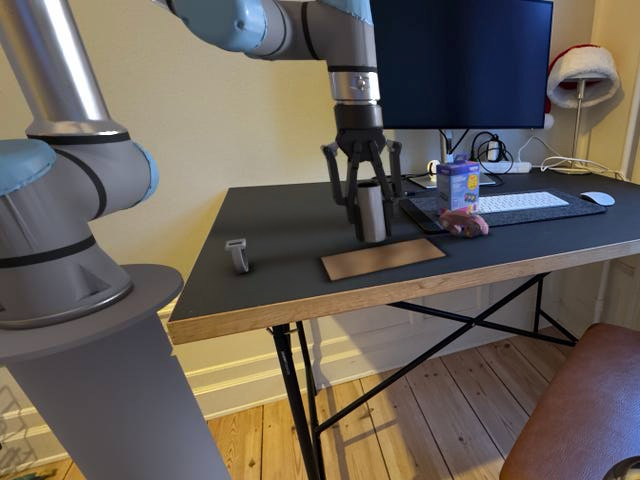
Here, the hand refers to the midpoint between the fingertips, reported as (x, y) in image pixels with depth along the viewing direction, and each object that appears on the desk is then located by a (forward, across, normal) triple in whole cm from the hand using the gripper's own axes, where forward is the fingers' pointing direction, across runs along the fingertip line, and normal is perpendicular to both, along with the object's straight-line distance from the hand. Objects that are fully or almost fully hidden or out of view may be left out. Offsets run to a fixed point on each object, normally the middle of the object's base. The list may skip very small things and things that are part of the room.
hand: (374, 236), depth 70 cm
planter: (0, 0, 0) cm, 0 cm away
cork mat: (+2, 0, -6) cm, 6 cm away
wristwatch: (+2, -22, +1) cm, 22 cm away
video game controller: (+2, +18, -3) cm, 18 cm away
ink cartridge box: (+2, +24, +11) cm, 27 cm away
